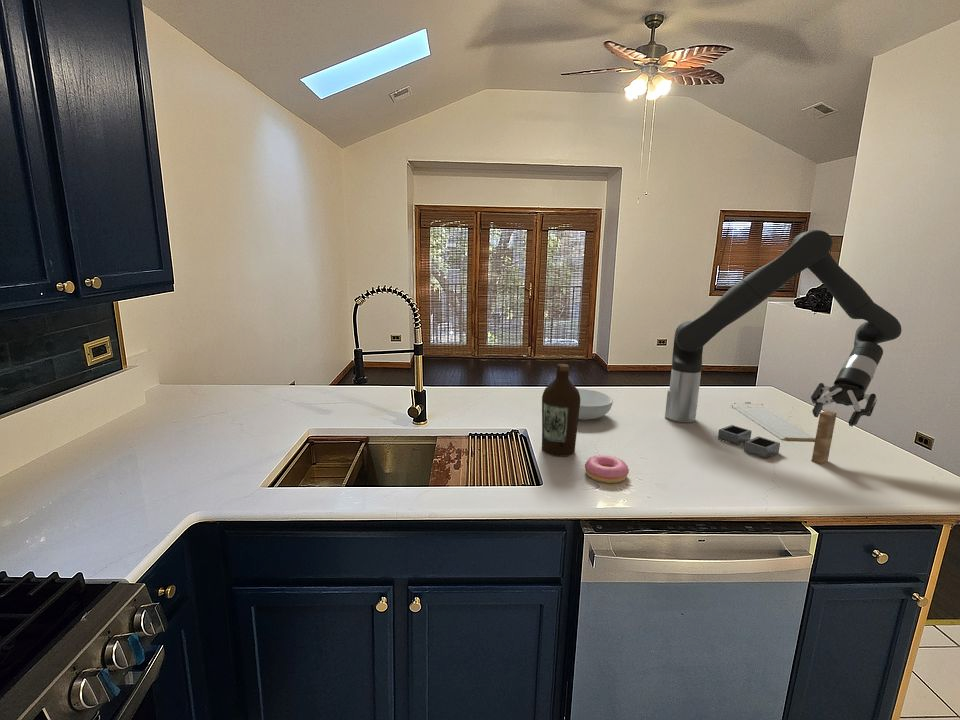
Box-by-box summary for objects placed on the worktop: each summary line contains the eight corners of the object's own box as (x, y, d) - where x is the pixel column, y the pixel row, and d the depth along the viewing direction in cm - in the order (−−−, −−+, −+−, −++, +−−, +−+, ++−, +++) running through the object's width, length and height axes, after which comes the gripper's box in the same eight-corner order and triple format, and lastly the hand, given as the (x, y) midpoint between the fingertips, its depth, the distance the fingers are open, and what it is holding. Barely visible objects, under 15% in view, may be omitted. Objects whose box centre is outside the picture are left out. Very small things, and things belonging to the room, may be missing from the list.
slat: (811, 461, 138) (820, 413, 135) (817, 457, 140) (826, 410, 137) (821, 464, 136) (830, 415, 133) (827, 460, 138) (836, 413, 135)
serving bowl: (609, 429, 159) (610, 409, 158) (544, 421, 166) (545, 401, 164) (613, 410, 179) (615, 391, 177) (555, 403, 185) (556, 385, 184)
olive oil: (547, 440, 150) (552, 359, 144) (582, 447, 144) (587, 363, 139) (533, 452, 141) (537, 366, 135) (569, 460, 135) (575, 371, 130)
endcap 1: (717, 438, 153) (718, 429, 152) (730, 433, 157) (732, 424, 157) (737, 445, 148) (738, 435, 147) (750, 439, 152) (751, 430, 152)
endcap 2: (743, 451, 144) (745, 441, 143) (757, 445, 148) (758, 436, 147) (765, 458, 139) (767, 448, 138) (778, 452, 143) (780, 443, 143)
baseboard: (775, 441, 153) (815, 442, 153) (777, 432, 152) (816, 434, 152) (729, 409, 183) (761, 410, 183) (730, 401, 183) (763, 402, 182)
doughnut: (579, 466, 132) (580, 452, 131) (619, 466, 133) (620, 451, 132) (591, 486, 122) (592, 470, 121) (634, 485, 123) (636, 469, 122)
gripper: (825, 361, 145) (801, 405, 141) (885, 372, 134) (861, 420, 130) (829, 376, 150) (806, 420, 146) (888, 388, 138) (864, 435, 134)
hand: (832, 420), depth 138 cm, fingers open, 8 cm apart
